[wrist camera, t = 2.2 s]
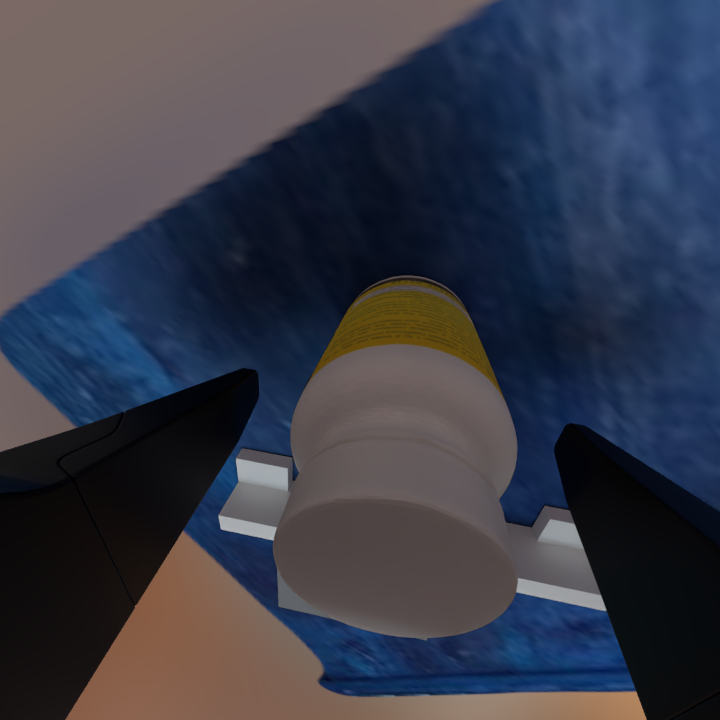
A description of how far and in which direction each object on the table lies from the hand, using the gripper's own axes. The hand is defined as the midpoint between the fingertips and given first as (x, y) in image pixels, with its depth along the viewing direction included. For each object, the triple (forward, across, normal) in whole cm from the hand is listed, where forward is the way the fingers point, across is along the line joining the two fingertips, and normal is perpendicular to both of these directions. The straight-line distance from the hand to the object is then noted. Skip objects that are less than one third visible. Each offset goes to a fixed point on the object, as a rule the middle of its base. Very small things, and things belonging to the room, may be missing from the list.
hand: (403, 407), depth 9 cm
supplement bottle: (+5, 0, 0) cm, 5 cm away
